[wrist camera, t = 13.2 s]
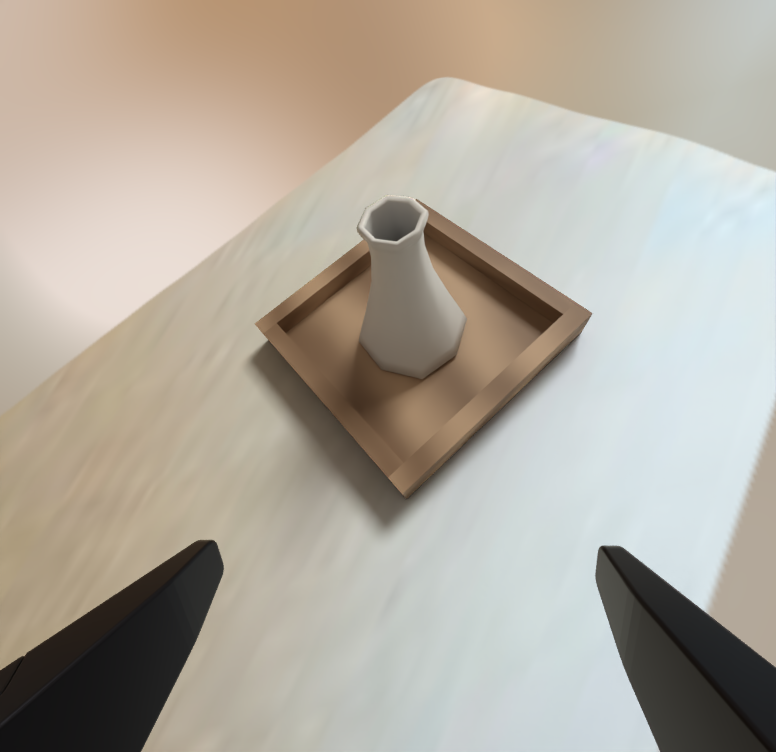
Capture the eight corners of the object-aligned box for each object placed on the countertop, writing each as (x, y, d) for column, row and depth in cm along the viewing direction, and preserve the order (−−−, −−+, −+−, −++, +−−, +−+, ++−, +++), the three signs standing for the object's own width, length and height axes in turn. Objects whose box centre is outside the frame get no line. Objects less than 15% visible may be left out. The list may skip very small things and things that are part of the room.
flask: (426, 398, 24) (410, 308, 15) (342, 346, 27) (285, 243, 18) (485, 317, 26) (502, 193, 17) (401, 276, 28) (377, 150, 19)
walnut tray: (406, 499, 22) (402, 494, 20) (268, 339, 29) (254, 323, 27) (581, 331, 25) (592, 313, 23) (418, 220, 32) (416, 199, 30)
